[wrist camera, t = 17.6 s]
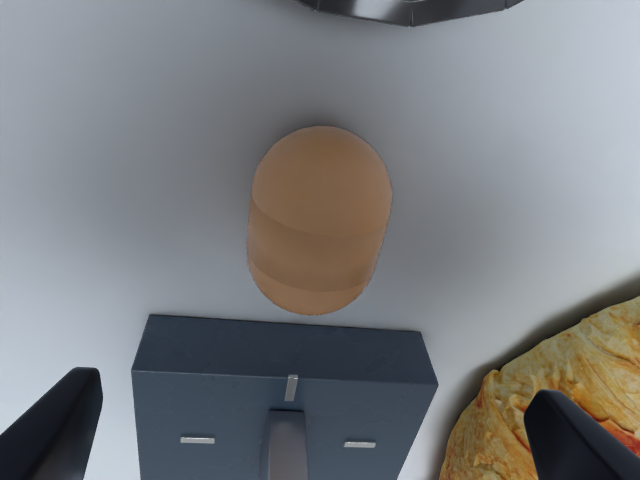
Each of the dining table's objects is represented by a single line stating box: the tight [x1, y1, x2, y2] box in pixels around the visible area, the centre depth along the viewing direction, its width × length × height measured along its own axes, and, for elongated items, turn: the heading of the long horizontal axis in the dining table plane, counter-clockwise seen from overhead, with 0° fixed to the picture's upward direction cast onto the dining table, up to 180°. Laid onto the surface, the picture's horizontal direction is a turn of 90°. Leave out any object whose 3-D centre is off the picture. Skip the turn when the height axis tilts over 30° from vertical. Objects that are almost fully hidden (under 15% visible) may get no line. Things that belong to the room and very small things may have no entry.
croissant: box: [439, 296, 640, 480], centre depth 23 cm, size 21×10×8 cm, turn 158°
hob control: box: [131, 315, 438, 480], centre depth 22 cm, size 12×8×3 cm
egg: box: [246, 126, 392, 315], centre depth 15 cm, size 4×6×4 cm
